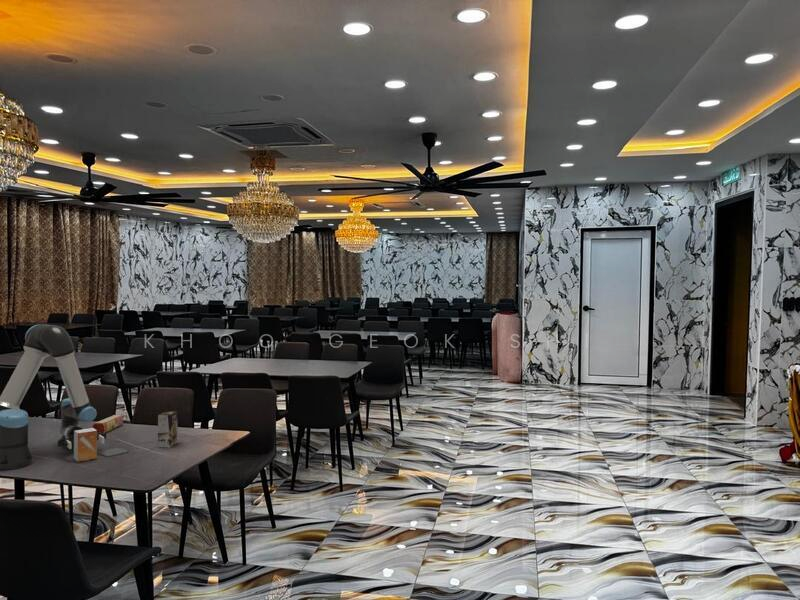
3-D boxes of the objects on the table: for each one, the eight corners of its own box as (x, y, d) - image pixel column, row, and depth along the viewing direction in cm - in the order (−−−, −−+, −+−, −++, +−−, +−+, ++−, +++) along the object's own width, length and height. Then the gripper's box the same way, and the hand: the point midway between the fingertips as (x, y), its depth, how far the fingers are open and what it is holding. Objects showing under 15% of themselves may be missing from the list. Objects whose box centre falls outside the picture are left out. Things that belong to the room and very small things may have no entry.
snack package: (112, 425, 319) (112, 413, 319) (124, 425, 319) (124, 413, 319) (91, 434, 298) (91, 422, 298) (104, 435, 298) (104, 422, 298)
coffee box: (170, 447, 276) (170, 415, 276) (157, 447, 276) (157, 414, 276) (177, 442, 285) (178, 411, 285) (165, 442, 285) (165, 410, 285)
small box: (77, 462, 251) (77, 433, 251) (73, 458, 256) (73, 430, 256) (97, 458, 257) (97, 430, 257) (93, 455, 262) (93, 427, 261)
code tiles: (84, 461, 253) (84, 460, 253) (78, 458, 257) (78, 458, 257) (92, 459, 256) (92, 459, 256) (86, 456, 260) (86, 456, 260)
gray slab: (107, 457, 259) (107, 456, 259) (97, 453, 265) (97, 451, 265) (128, 452, 267) (128, 451, 267) (118, 448, 273) (118, 447, 273)
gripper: (103, 437, 281) (116, 446, 266) (45, 446, 264) (56, 456, 249) (103, 422, 281) (116, 430, 266) (45, 430, 264) (56, 439, 249)
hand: (87, 443), depth 257 cm, fingers open, 13 cm apart
